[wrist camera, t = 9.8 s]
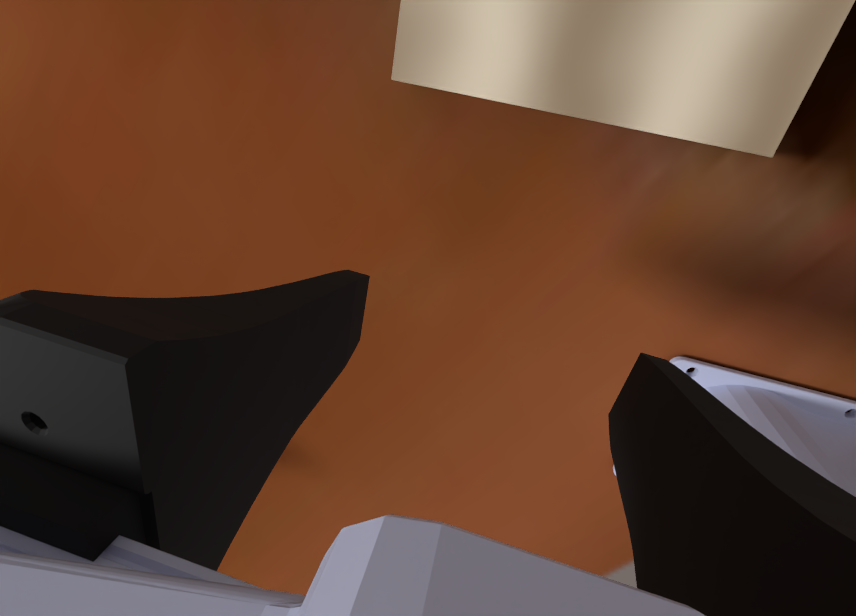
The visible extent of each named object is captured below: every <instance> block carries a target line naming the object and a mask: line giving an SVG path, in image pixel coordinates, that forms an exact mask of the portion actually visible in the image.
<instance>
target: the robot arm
mask: <svg viewBox="0 0 856 616" xmlns="http://www.w3.org/2000/svg"><path fill="white" fill-rule="evenodd" d="M368 283H369V276H368V275H365V274H361V273H358V272H354V271H350V270H342V271H337V272H333V273H328V274H324V275H321V276H317V277H313V278H309V279H305V280H301V281H297V282H293V283H289V284H284V285H279V286H274V287H270V288H265V289H260V290H255V291H249V292H242V293H234V294H225V295H216V296H200V297H180V298H129V297H107V296H93V295H81V294H70V293H59V292H48V291H39V290H28V291H24V292H21V293H18V294H15V295H13V296H10V297H7V298H4V299H2V300H0V616H856V401H853V400H849V399H845V398H841V397H838V396H834V395H830V394H826V393H822V392H818V391H814V390H810V389H807V388H803V387H799V386H795V385H791V384H787V383H783V382H779V381H776V380H772V379H768V378H764V377H760V376H756V375H752V374H748V373H745V372H741V371H737V370H733V369H729V368H725V367H721V366H717V365H714V364H710V363H706V362H702V361H698V360H694V359H690V358H687V357H681V356H679V357H674V358H673V359H671V360H670V361H667V360H665V359H661V358H658V357H654V356H651V355H647V354H644V353H640V355H639V357H638V359H637V361H636V363H635V365H634V367H633V369H632V370H631V372H630V374H629V376H628V378H627V380H626V382H625V384H624V386H623V388H622V390H621V392H620V394H619V395H618V397H617V399H616V401H615V403H614V405H613V407H612V409H611V411H610V413H609V435H610V447H611V453H612V458H613V462H614V465H613V471H614V474H615V475H616V476H617V480H618V485H619V489H620V493H621V498H622V502H623V506H624V511H625V515H626V519H627V523H628V528H629V532H630V538H631V543H632V549H633V556H634V564H635V573H636V581H637V588H634V587H632V586H629V585H626V584H623V583H620V582H617V581H614V580H611V579H608V578H605V577H602V576H599V575H596V574H593V573H590V572H588V571H585V570H582V569H579V568H576V567H573V566H570V565H567V564H564V563H561V562H558V561H555V560H552V559H549V558H546V557H543V556H540V555H537V554H535V553H532V552H529V551H526V550H523V549H520V548H517V547H514V546H511V545H508V544H505V543H502V542H499V541H496V540H493V539H490V538H487V537H484V536H482V535H479V534H476V533H473V532H470V531H467V530H464V529H461V528H458V527H455V526H452V525H449V524H446V523H443V522H439V521H433V520H426V519H419V518H413V517H406V516H400V515H393V514H391V515H386V516H382V517H379V518H375V519H372V520H369V521H365V522H362V523H358V524H355V525H351V526H348V527H345V528H342V530H341V531H340V533H339V534H338V536H337V537H336V539H335V540H334V542H333V544H332V545H331V547H330V548H329V550H328V551H327V553H326V554H325V556H324V558H323V560H322V562H321V564H320V567H319V569H318V571H317V573H316V575H315V577H314V580H313V582H312V584H311V586H310V588H309V590H308V593H307V595H301V594H294V593H287V592H281V591H274V590H267V589H262V588H259V587H257V586H254V585H251V584H249V583H246V582H243V581H241V580H238V579H235V578H233V577H230V576H227V575H225V574H222V573H219V572H217V569H218V567H219V565H220V563H221V561H222V559H223V557H224V555H225V554H226V552H227V550H228V548H229V546H230V544H231V542H232V541H233V539H234V537H235V535H236V533H237V531H238V530H239V528H240V526H241V524H242V522H243V520H244V519H245V517H246V515H247V513H248V511H249V509H250V508H251V506H252V504H253V502H254V501H255V499H256V497H257V495H258V494H259V492H260V490H261V488H262V487H263V485H264V483H265V481H266V480H267V478H268V476H269V475H270V473H271V471H272V469H273V468H274V466H275V464H276V463H277V461H278V459H279V458H280V456H281V454H282V453H283V451H284V450H285V448H286V446H287V445H288V443H289V441H290V440H291V438H292V437H293V435H294V434H295V432H296V431H297V429H298V428H299V427H300V425H301V424H302V422H303V421H304V420H305V419H306V417H307V416H308V415H309V413H310V412H311V411H312V409H313V408H314V407H315V406H316V404H317V403H318V402H319V400H320V399H321V398H322V397H323V395H324V394H325V393H326V391H327V390H328V389H329V388H330V386H331V385H332V384H333V382H334V381H335V380H336V378H337V377H338V376H339V374H340V373H341V372H342V370H343V369H344V368H345V366H346V364H347V363H348V361H349V359H350V357H351V356H352V354H353V352H354V350H355V348H356V346H357V344H358V342H359V341H360V336H361V329H362V323H363V316H364V309H365V303H366V296H367V290H368ZM691 367H693V368H695V370H694V371H692V372H686V371H687V370H688V369H689V368H691ZM850 409H852V410H851V411H850V412H848V413H845V412H846V411H848V410H850Z"/></svg>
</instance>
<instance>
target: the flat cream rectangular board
mask: <svg viewBox="0 0 856 616" xmlns="http://www.w3.org/2000/svg"><path fill="white" fill-rule="evenodd" d="M854 2H855V0H401V5H400V13H399V21H398V29H397V37H396V45H395V53H394V61H393V69H392V77H391V80H396V81H401V82H405V83H410V84H415V85H420V86H425V87H430V88H435V89H440V90H445V91H449V92H454V93H459V94H464V95H469V96H474V97H479V98H484V99H489V100H493V101H498V102H503V103H508V104H513V105H518V106H523V107H528V108H533V109H537V110H542V111H547V112H552V113H557V114H562V115H567V116H572V117H577V118H582V119H586V120H591V121H596V122H601V123H606V124H611V125H616V126H621V127H626V128H630V129H635V130H640V131H645V132H650V133H655V134H660V135H665V136H670V137H674V138H679V139H684V140H689V141H694V142H699V143H704V144H709V145H714V146H719V147H723V148H728V149H733V150H738V151H743V152H748V153H753V154H758V155H763V156H767V157H773V155H774V153H775V151H776V150H777V148H778V146H779V144H780V142H781V140H782V138H783V136H784V134H785V133H786V131H787V129H788V127H789V125H790V123H791V121H792V119H793V117H794V115H795V114H796V112H797V110H798V108H799V106H800V104H801V102H802V100H803V98H804V97H805V95H806V93H807V91H808V89H809V87H810V85H811V83H812V81H813V80H814V78H815V76H816V74H817V72H818V70H819V68H820V66H821V64H822V62H823V61H824V59H825V57H826V55H827V53H828V51H829V49H830V47H831V45H832V44H833V42H834V40H835V38H836V36H837V34H838V32H839V30H840V28H841V26H842V25H843V23H844V21H845V19H846V17H847V15H848V13H849V11H850V9H851V8H852V6H853V4H854Z"/></svg>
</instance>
